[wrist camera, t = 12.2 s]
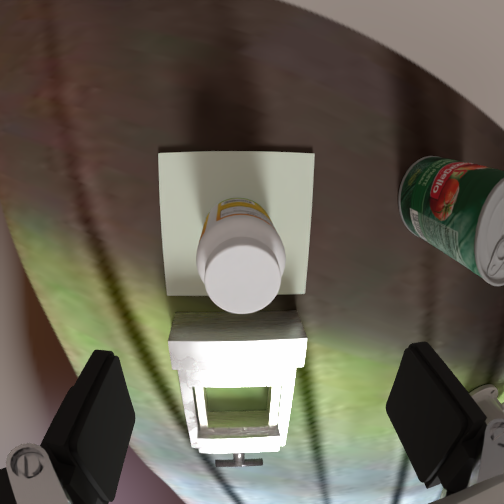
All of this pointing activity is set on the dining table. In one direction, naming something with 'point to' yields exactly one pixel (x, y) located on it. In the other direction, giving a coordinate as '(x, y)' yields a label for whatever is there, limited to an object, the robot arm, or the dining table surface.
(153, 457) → the dining table surface
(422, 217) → the canned tomato
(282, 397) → the vise
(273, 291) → the supplement bottle
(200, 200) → the pad
